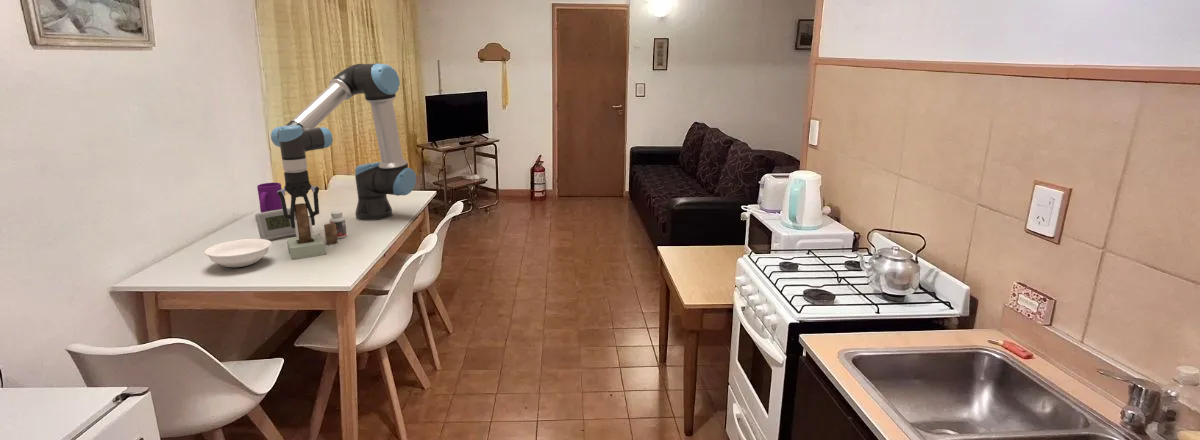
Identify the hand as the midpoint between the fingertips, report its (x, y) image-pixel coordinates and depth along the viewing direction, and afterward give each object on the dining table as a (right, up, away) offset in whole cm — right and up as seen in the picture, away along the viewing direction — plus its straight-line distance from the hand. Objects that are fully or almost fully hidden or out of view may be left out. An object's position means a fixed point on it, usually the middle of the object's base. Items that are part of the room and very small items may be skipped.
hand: (304, 235), depth 227 cm
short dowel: (+5, -3, +12) cm, 13 cm away
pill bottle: (+4, -1, +20) cm, 20 cm away
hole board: (0, -6, +2) cm, 6 cm away
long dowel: (0, -4, +1) cm, 4 cm away
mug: (-35, +5, +45) cm, 57 cm away
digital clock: (-18, -1, +20) cm, 27 cm away
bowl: (-16, -10, -12) cm, 22 cm away
